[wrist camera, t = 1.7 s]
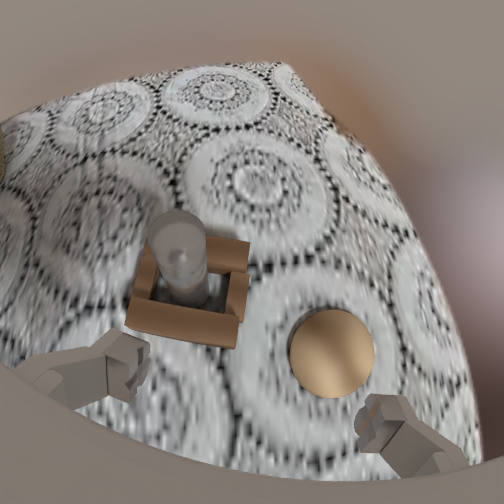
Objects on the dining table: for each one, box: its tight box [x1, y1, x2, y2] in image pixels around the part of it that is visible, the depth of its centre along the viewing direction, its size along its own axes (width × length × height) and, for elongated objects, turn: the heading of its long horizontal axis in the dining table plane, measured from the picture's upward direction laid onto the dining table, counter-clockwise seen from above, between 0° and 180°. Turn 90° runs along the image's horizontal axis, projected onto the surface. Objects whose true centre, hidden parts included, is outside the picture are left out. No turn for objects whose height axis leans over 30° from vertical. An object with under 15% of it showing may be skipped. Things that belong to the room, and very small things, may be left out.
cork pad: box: [290, 310, 374, 398], centre depth 29 cm, size 10×10×1 cm
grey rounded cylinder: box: [147, 210, 209, 309], centre depth 25 cm, size 4×4×13 cm
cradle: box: [124, 235, 250, 350], centre depth 29 cm, size 11×12×3 cm
